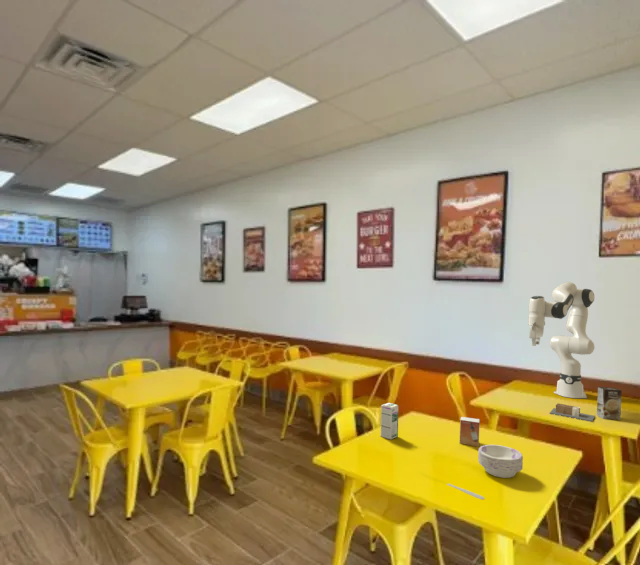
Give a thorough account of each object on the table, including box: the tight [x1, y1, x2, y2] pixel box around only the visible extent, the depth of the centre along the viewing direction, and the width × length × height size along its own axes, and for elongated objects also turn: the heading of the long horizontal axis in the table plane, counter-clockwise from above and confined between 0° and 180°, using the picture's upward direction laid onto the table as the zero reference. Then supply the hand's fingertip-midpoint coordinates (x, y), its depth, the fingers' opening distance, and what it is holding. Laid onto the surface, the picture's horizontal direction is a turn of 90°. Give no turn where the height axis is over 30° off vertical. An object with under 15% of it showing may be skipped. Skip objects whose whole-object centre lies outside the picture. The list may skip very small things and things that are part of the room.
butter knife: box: [446, 483, 486, 500], centre depth 146 cm, size 1×27×3 cm
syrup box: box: [380, 402, 399, 440], centre depth 190 cm, size 6×6×14 cm
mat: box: [549, 407, 596, 423], centre depth 232 cm, size 12×20×1 cm, turn 51°
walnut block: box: [555, 403, 581, 417], centre depth 234 cm, size 5×4×11 cm
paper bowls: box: [477, 444, 524, 479], centre depth 156 cm, size 15×15×8 cm
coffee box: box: [596, 386, 622, 421], centre depth 230 cm, size 9×6×16 cm
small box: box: [459, 416, 481, 447], centre depth 185 cm, size 8×6×10 cm
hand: (535, 345), depth 257 cm, fingers open, 8 cm apart
